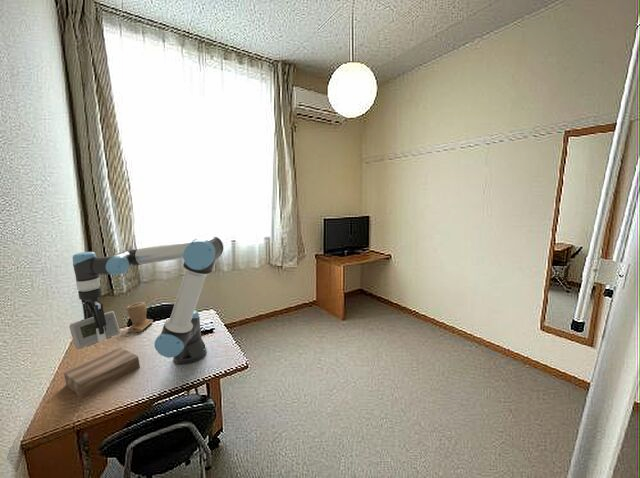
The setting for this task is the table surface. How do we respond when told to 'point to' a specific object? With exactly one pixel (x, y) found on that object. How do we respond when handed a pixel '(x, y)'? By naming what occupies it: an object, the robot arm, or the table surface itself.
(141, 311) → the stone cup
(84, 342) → the digital clock
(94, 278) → the robot arm
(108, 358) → the walnut block
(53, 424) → the table surface
